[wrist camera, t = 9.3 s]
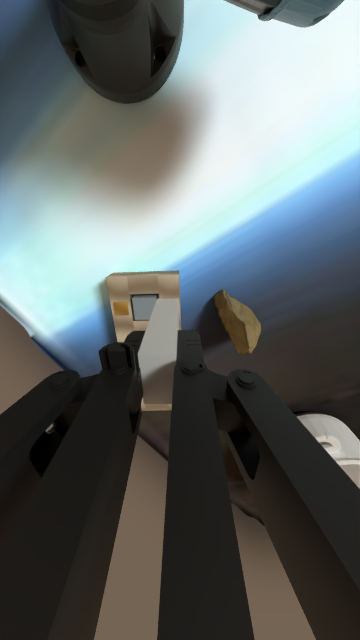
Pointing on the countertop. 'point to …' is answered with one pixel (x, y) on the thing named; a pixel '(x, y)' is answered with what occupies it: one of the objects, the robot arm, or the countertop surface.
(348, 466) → the pot
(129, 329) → the button panel
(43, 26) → the countertop surface
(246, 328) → the rock
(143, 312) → the button
